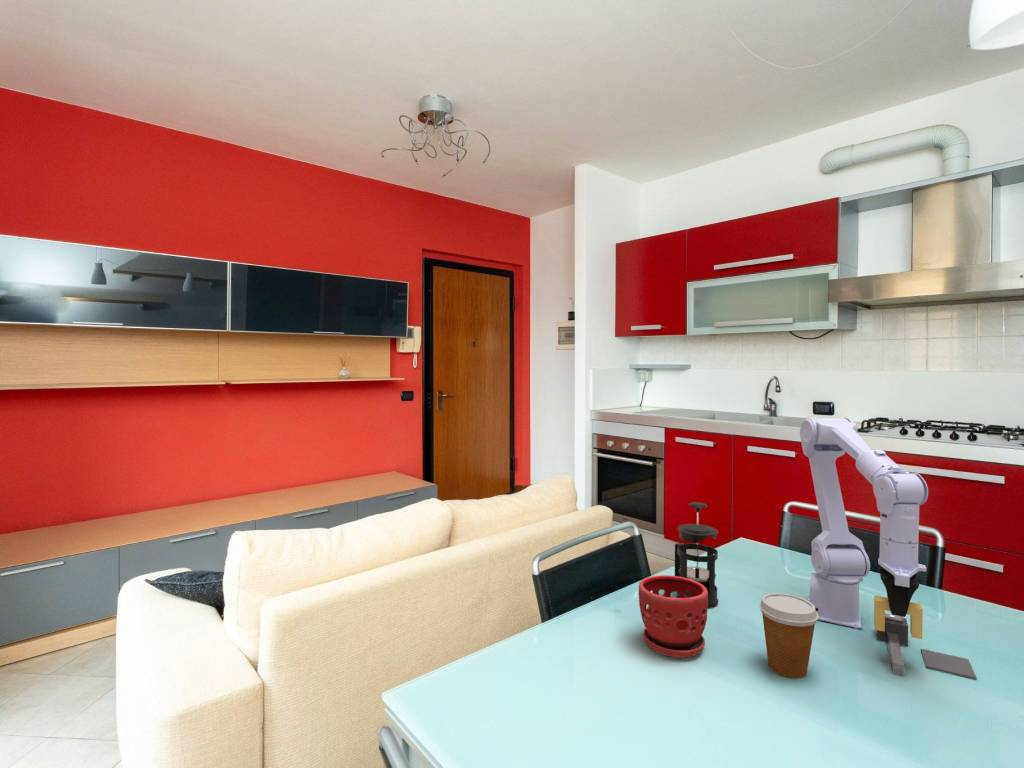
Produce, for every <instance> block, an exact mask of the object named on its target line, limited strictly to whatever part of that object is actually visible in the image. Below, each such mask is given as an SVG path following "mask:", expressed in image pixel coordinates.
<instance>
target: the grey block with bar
mask: <svg viewBox="0 0 1024 768" xmlns="http://www.w3.org/2000/svg"><path fill="white" fill-rule="evenodd" d="M875 636H876V640H877V641H880V642H881V641H882V642H884V643H885V642H886V644H887V647H888V648H887V649H888V653H889V654H888V655H889V660H890V665H891V671H892V674H893V675H897V676H901V677H905V663H904V658H903V653H902V649H901V646H904V647H909V625H908V621H907V618H906V617H902V616H897V615H892V614H891V613H887V612H885V632H884V631H879V630H875Z"/></svg>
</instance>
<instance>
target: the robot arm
mask: <svg viewBox="0 0 1024 768" xmlns="http://www.w3.org/2000/svg"><path fill="white" fill-rule="evenodd" d="M799 436H800V442H801V447H802V448H801V449H802V451H803V452H802V453H803V455H804V456H805V457H808V460H809V465H810V471H811V476H812V483H813V487H814V493H815V498H816V504H817V508H818V509H817V510H818V515H819V520H820V526H821V533H819V534H818V535H817V536H815V538H813V539H812V541H811V557H810V558H811V559H810V560H811V564H812V568H813V569H814V571H815V572H810V577H809V581H810V583H809V597H808V601H809V602H811V603H812V604H813V605H814V606H815V609H816V612H817V613H818V619H817V621H818V620H819V621H823V622H827V623H831V624H836V625H840V626H845V627H850V628H854V629H862V618H861V616H862V615H861V612H860V582H864V578H865V577H867V576H868V575H869V572H870V570H871V561H870V558H869V555H868V554H867V552H866V549H865V547H864V544H863V540H861V539H860V538H858V537H857V536H856V535H854V534H853V533H851V532H850V531H849V525H848V520H847V515H846V510H845V506H844V505H845V504H844V501H843V500H844V499H843V494H842V491H841V486H840V480H839V475H838V471H837V466H836V461H837V459H838V458H840V457H841V456H844V455H845V454H846V453H847V454H848V455H849V456H850V457H851V458H853V459H854V460H855V468H856V470H857V471H858V472H859V473H860V474H861V475H862V476H863V477H864V478H865V479H866V480H867V482H869V483H870V484H871V485H872V491H873V495H874V498H875V499H876V508H877V511H878V512H879V513H880V516H879V557H878V558H877V563H878V571H879V576H880V580H881V582H882V584H883V585H884V588H885V591H886V596H887V597H886V598H888V601H889V607H890V611H889V612H890V614H891V615H896V616H901V617H903V618H906V615H908V614H907V611H908V607H909V604H910V602H911V600H912V598H913V596H914V594H915V592H916V591H917V590H918V588H919V586H920V583H919V582H920V581H919V580H914V579H916V577H917V573H919V572H922V573H923V572H927V567H926V565H925V564H921V563H919V541H920V540H919V537H920V536H919V534H920V533H919V532H920V531H919V530H920V526H919V525H920V506H921V505H922V506H923V505H924V504H925V503H926V502H927V500H928V497H929V487H928V485H927V482H926V481H925V479H924V478H923V477H922V475H921V474H920V473H917V472H909V471H908V470H907V471H906V470H904V469H903V468H901V467H900V466H899V465H898V464H897V463H896V462H895V461H894V460H893V459H891V458H890V457H889V456H888V455H887V452H886V451H884V450H883V449H878V448H877V449H873V448H871V447H870V446H869V445H868V443H866V442H865V440H864V439H863V438H862V436H860V435H859V434H858V426H857V424H856V423H855V422H854V421H853V419H851V418H850V417H841V418H840V417H835V418H833V417H821V418H820V417H816V418H815V417H814V418H813V417H809V416H808V417H806V418H804V419H803V421H802V423H801V425H800V428H799ZM838 546H839V547H838Z"/></svg>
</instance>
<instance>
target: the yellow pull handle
mask: <svg viewBox="0 0 1024 768" xmlns="http://www.w3.org/2000/svg"><path fill="white" fill-rule="evenodd" d="M873 597H874V598H873V626H874V627H873V628H874V630H875V631H876V630H879V631H884V632H885V613H886V612H891V611H890V607H889V601H888V597H886V596H880V595H874V596H873ZM906 615H907V616H908V615H909V616H910V617H909V618H910V619H909V629H910V630H909V631H910V632H909V633H910V636H911V638H913V639H918V640H923V621H924V620H923V618H924V616H923V615H924V613H923V606H922V604H921V603H918V602H912V601H910V604H909V607H908V611H907V614H906Z"/></svg>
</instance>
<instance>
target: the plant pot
mask: <svg viewBox="0 0 1024 768" xmlns="http://www.w3.org/2000/svg"><path fill="white" fill-rule="evenodd" d="M661 590H663V594H661V595H660V591H661ZM685 591H688V592H689V593H690V596H689V597H686V596H685ZM674 592H675V593H677V592H678V593H679V594H680V596H681V598H676V597H671V594H672V593H674ZM638 605H639V611H640V615H641V620H642V623H643V625H644V627H645V629H644V631H643V635H642V636H643V640H644V641H645V643H646V645H647V646H649V648H651V649H652V650H653V651H655V652H657V653H659V654H662V655H664V656H667V657H671V658H690V657H693V656H696V655H697V654H700V653H701V652H702V651H703V649H704V648H705V646H706V639H705V638H704V636H703V633H704V631H705V628H706V624H707V621H708V609H709V608H708V591H707V589H706V587H705V586H703V585H702V584H701V583H699V582H697V581H694V580H691V579H688V578H684V577H678V576H675V575H666V574H665V575H664V574H662V575H654V576H653V575H652V576H648V577H645V578H643V579H642V580H641V581H639V583H638ZM707 608H708V609H707Z"/></svg>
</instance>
